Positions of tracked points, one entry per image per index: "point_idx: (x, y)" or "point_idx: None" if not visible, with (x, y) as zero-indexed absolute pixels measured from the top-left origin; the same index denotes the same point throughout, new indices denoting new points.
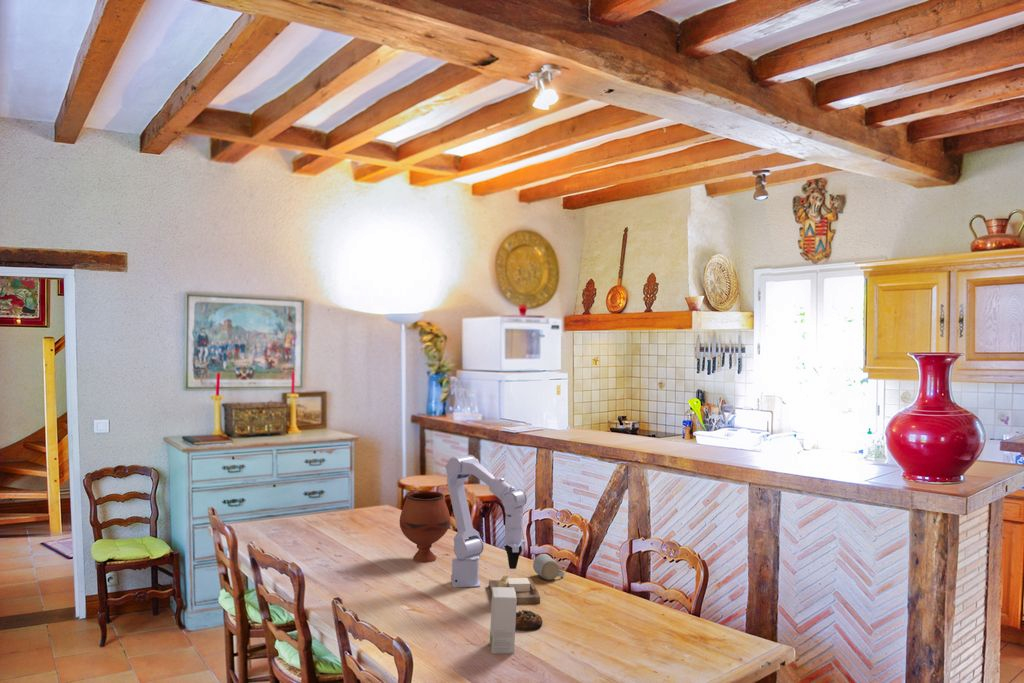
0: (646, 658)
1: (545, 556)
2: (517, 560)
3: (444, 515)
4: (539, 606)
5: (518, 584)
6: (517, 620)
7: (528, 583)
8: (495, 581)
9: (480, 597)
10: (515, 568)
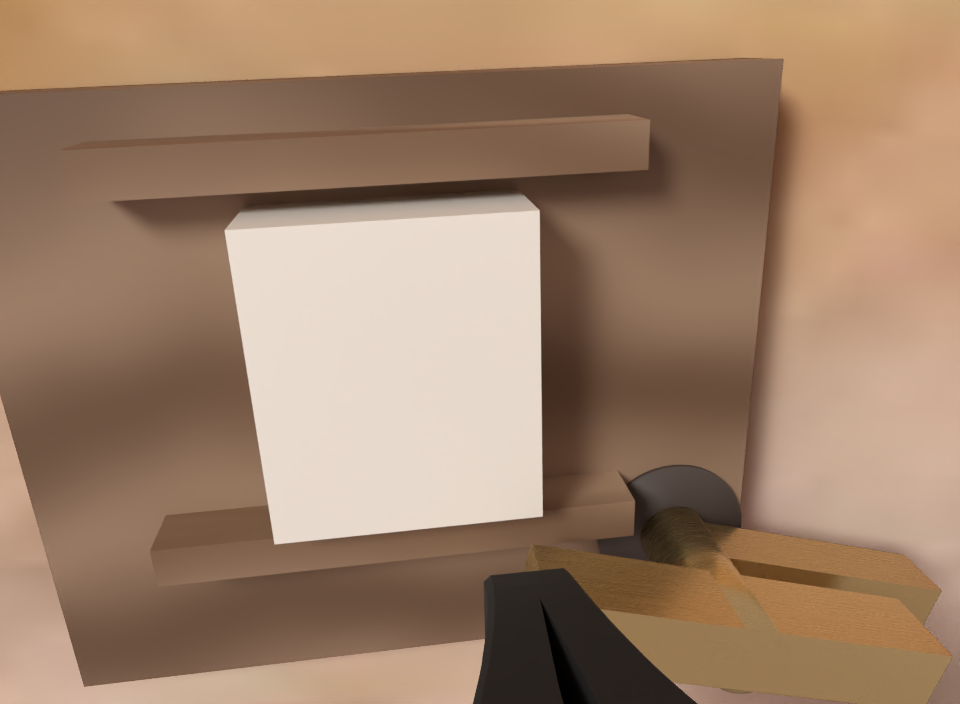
0: None
1: None
2: (667, 679)
3: None
4: (846, 80)
5: (538, 386)
6: None
7: (529, 236)
8: (119, 616)
9: None
10: (570, 578)
